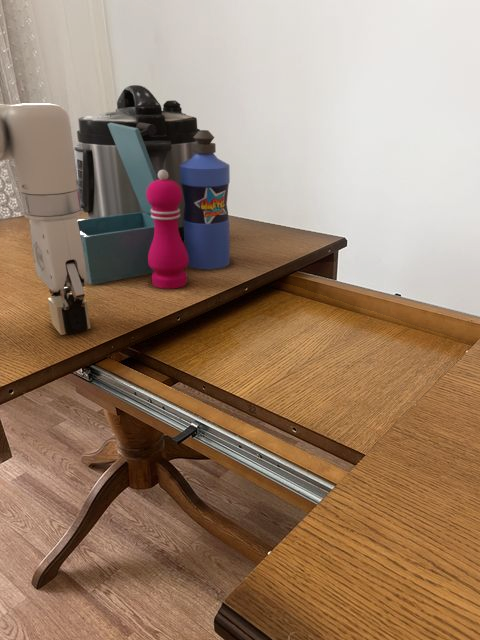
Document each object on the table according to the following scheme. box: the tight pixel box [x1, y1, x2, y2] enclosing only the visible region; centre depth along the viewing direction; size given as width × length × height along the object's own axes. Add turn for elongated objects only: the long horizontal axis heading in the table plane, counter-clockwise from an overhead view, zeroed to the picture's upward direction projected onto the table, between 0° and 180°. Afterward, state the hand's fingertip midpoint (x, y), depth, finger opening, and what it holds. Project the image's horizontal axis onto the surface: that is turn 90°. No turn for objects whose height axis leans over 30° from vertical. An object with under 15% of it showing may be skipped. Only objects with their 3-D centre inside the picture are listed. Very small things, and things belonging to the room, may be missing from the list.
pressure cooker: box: [73, 84, 201, 239], centre depth 124 cm, size 30×28×32 cm
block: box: [47, 293, 91, 336], centre depth 81 cm, size 4×4×4 cm
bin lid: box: [108, 122, 158, 214], centre depth 103 cm, size 17×13×5 cm
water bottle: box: [180, 129, 231, 270], centre depth 105 cm, size 9×9×25 cm
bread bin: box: [77, 212, 155, 286], centre depth 105 cm, size 17×13×9 cm
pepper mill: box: [146, 170, 189, 290], centre depth 95 cm, size 7×7×20 cm
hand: (71, 324), depth 82 cm, fingers closed on block, 4 cm apart
